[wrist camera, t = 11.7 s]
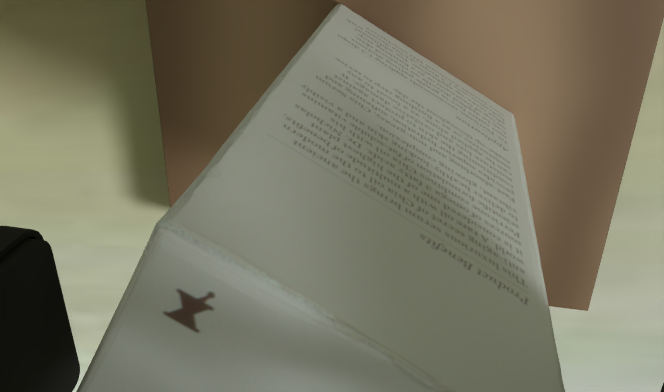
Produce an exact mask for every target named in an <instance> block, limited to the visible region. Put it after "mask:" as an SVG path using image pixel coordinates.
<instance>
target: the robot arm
mask: <svg viewBox="0 0 664 392" xmlns="http://www.w3.org/2000/svg"><path fill="white" fill-rule="evenodd" d="M79 374H80V365H79V361H78V357H77V352H76V348H75V344H74V340H73V336H72V332H71V328H70V323H69V319H68V315H67V311H66V307H65V303H64V299H63V294H62V290H61V286H60V282H59V278H58V274H57V270H56V265H55V261H54V257H53V253H52V249H51V246H50V244H49V243H48V242H47V241H44V240H43V237H42V235H41V234H40V233H39V232H38V231H35V230H32V229H24V228H17V227H10V226H0V392H72V391H73V389H74V388H75V386H76V384H77V381H78V378H79ZM661 392H664V383H663V386H662V389H661Z"/></svg>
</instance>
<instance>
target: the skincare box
mask: <svg viewBox="0 0 664 392" xmlns="http://www.w3.org/2000/svg"><path fill="white" fill-rule="evenodd" d="M77 392H565V390H564V385H563V381H562V376H561V369H560V363H559V358H558V354H557V349H556V344H555V339H554V333H553V328H552V322H551V316H550V310H549V305H548V300H547V294H546V288H545V283H544V278H543V272H542V268H541V262H540V255H539V249H538V244H537V238H536V233H535V228H534V222H533V216H532V211H531V205H530V200H529V194H528V188H527V183H526V177H525V172H524V166H523V160H522V155H521V149H520V143H519V138H518V132H517V127H516V122H515V118H514V115H513V114H512V113H511V112H509V111H508V110H506V109H504V108H503V107H501V106H499V105H498V104H496V103H495V102H493V101H492V100H490V99H489V98H487V97H486V96H484V95H482V94H481V93H479V92H478V91H476V90H475V89H473V88H472V87H470V86H469V85H467V84H465V83H464V82H462V81H461V80H459V79H458V78H456V77H455V76H453V75H451V74H450V73H448V72H447V71H445V70H444V69H442V68H441V67H439V66H438V65H436V64H435V63H433V62H431V61H430V60H428V59H426V58H425V57H423V56H422V55H420V54H418V53H417V52H415V51H414V50H412V49H411V48H409V47H408V46H406V45H405V44H403V43H402V42H400V41H399V40H397V39H395V38H394V37H392V36H390V35H389V34H387V33H386V32H384V31H383V30H381V29H379V28H378V27H376V26H375V25H373V24H372V23H370V22H369V21H367V20H366V19H364V18H362V17H361V16H359V15H358V14H356V13H355V12H353V11H351V10H350V9H349V8H347V7H346V6H344V5H342V4H338V5H337V6H335V7H334V9H333V10H332V11H331V12H330V13H329V14H328V16H327V17H326V18H325V19H324V21H323V22H322V23H321V24H320V26H319V27H318V28H317V29H316V31H315V32H314V33H313V34H312V36H311V37H310V38H309V39H308V41H307V42H306V43H305V44H304V46H303V47H302V48H301V49H300V50H299V51H298V52H297V54H296V55H295V56H294V57H293V58H292V60H291V61H290V62H289V63H288V65H287V66H286V67H285V68H284V70H283V71H282V72H281V73H280V74H279V75H278V77H277V78H276V79H275V81H274V82H273V83H272V84H271V86H270V87H269V88H268V89H267V90H266V92H265V93H264V94H263V95H262V97H261V98H260V99H259V101H258V102H257V103H256V104H255V106H254V107H253V108H252V109H251V110H250V111H249V112H248V114H247V115H246V117H245V118H244V119H243V120H242V121H241V122H240V124H239V125H238V126H237V128H236V129H235V130H234V132H233V133H232V134H231V135H230V137H229V138H228V139H227V140H226V142H225V143H224V144H223V145H222V147H221V148H220V149H219V151H218V152H217V153H216V155H215V156H214V157H213V159H212V160H211V161H210V162H209V164H208V165H207V166H206V168H205V169H204V170H203V171H202V172H201V173H200V175H199V176H198V177H197V178H196V179H195V180H194V181H193V183H192V184H191V185H190V186H189V187H188V188H187V189H186V191H185V192H184V193H183V194H182V195H181V196H180V198H179V199H178V200H177V201H176V202H175V203H174V205H173V206H172V207H171V208H170V209H169V210H168V211H167V212H166V214H165V215H164V216H163V217H162V218H161V219H160V220H159V221H158V222H157V223H156V225H155V227H154V230H153V232H152V234H151V237H150V239H149V241H148V243H147V245H146V248H145V250H144V252H143V254H142V256H141V258H140V261H139V263H138V265H137V267H136V269H135V271H134V273H133V276H132V278H131V280H130V282H129V284H128V286H127V288H126V290H125V293H124V295H123V297H122V299H121V301H120V303H119V305H118V307H117V309H116V311H115V313H114V315H113V317H112V320H111V322H110V324H109V326H108V328H107V330H106V332H105V334H104V336H103V338H102V340H101V342H100V344H99V347H98V349H97V351H96V353H95V355H94V357H93V359H92V361H91V363H90V365H89V367H88V369H87V371H86V373H85V375H84V377H83V380H82V382H81V384H80V386H79V388H78V390H77Z"/></svg>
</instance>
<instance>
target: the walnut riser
mask: <svg viewBox="0 0 664 392" xmlns="http://www.w3.org/2000/svg"><path fill="white" fill-rule="evenodd" d="M338 4H342V5H344V6H346V7H347V8H349V9H350V10H351V11H353V12H355V13H356V14H358V15H359V16H361V17H362V18H364V19H366V20H367V21H369V22H370V23H372V24H373V25H375V26H376V27H378V28H379V29H381V30H383V31H384V32H386V33H387V34H389V35H390V36H392V37H394V38H395V39H397V40H399V41H400V42H402V43H403V44H405V45H406V46H408V47H409V48H411V49H412V50H414V51H415V52H417V53H418V54H420V55H422V56H423V57H425V58H426V59H428V60H430V61H431V62H433V63H435V64H436V65H438V66H439V67H441V68H442V69H444V70H445V71H447V72H448V73H450V74H451V75H453V76H455V77H456V78H458V79H459V80H461V81H462V82H464V83H465V84H467V85H469V86H470V87H472V88H473V89H475V90H476V91H478V92H479V93H481V94H482V95H484V96H486V97H487V98H489V99H490V100H492V101H493V102H495V103H496V104H498V105H499V106H501V107H503V108H504V109H506V110H508V111H509V112H511V113H512V114H513V115H514V118H515V122H516V127H517V132H518V138H519V143H520V149H521V155H522V160H523V166H524V172H525V177H526V183H527V188H528V194H529V200H530V205H531V211H532V216H533V222H534V228H535V233H536V238H537V244H538V249H539V255H540V262H541V268H542V272H543V278H544V283H545V288H546V294H547V300H548V305H549V306H554V307H562V308H570V309H578V310H586V311H588V308H589V304H590V300H591V296H592V293H593V289H594V285H595V281H596V277H597V273H598V269H599V265H600V262H601V258H602V254H603V250H604V246H605V242H606V238H607V235H608V231H609V227H610V223H611V219H612V215H613V211H614V207H615V204H616V200H617V196H618V192H619V188H620V184H621V180H622V176H623V173H624V169H625V165H626V161H627V157H628V153H629V149H630V146H631V142H632V138H633V134H634V130H635V126H636V122H637V118H638V115H639V111H640V107H641V103H642V99H643V95H644V91H645V88H646V84H647V80H648V76H649V72H650V68H651V64H652V60H653V57H654V53H655V49H656V45H657V41H658V37H659V33H660V29H661V26H662V22H663V18H664V0H146V6H147V14H148V22H149V31H150V39H151V47H152V56H153V64H154V72H155V81H156V89H157V97H158V106H159V114H160V122H161V131H162V139H163V147H164V156H165V164H166V172H167V181H168V189H169V197H170V206H171V207H172V206H173V205H174V203H175V202H176V201H177V200H178V199H179V198H180V196H181V195H182V194H183V193H184V192H185V191H186V189H187V188H188V187H189V186H190V185H191V184H192V183H193V181H194V180H195V179H196V178H197V177H198V176H199V175H200V173H201V172H202V171H203V170H204V169H205V168H206V166H207V165H208V164H209V162H210V161H211V160H212V159H213V157H214V156H215V155H216V153H217V152H218V151H219V149H220V148H221V147H222V145H223V144H224V143H225V142H226V140H227V139H228V138H229V137H230V135H231V134H232V133H233V132H234V130H235V129H236V128H237V126H238V125H239V124H240V122H241V121H242V120H243V119H244V118H245V117H246V115H247V114H248V112H249V111H250V110H251V109H252V108H253V107H254V106H255V104H256V103H257V102H258V101H259V99H260V98H261V97H262V95H263V94H264V93H265V92H266V90H267V89H268V88H269V87H270V86H271V84H272V83H273V82H274V81H275V79H276V78H277V77H278V75H279V74H280V73H281V72H282V71H283V70H284V68H285V67H286V66H287V65H288V63H289V62H290V61H291V60H292V58H293V57H294V56H295V55H296V54H297V52H298V51H299V50H300V49H301V48H302V47H303V46H304V44H305V43H306V42H307V41H308V39H309V38H310V37H311V36H312V34H313V33H314V32H315V31H316V29H317V28H318V27H319V26H320V24H321V23H322V22H323V21H324V19H325V18H326V17H327V16H328V14H329V13H330V12H331V11H332V10H333V9H334V7H335V6H337V5H338Z"/></svg>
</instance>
